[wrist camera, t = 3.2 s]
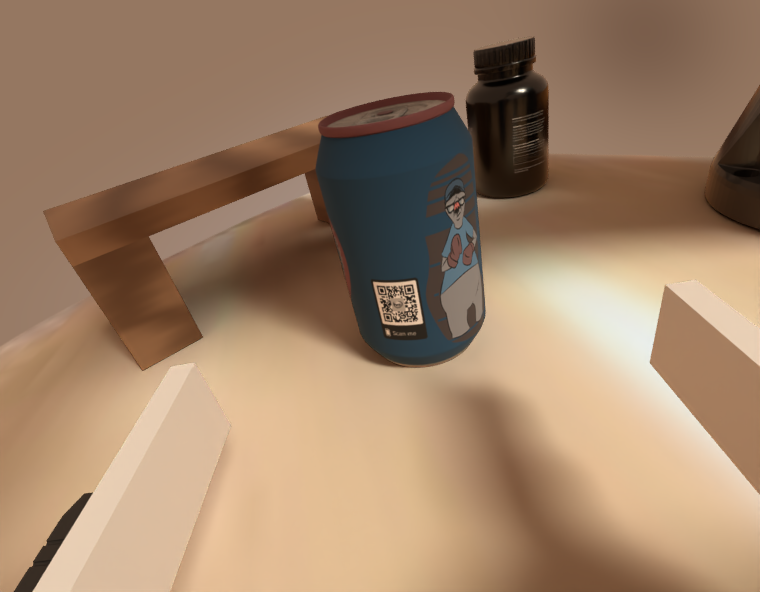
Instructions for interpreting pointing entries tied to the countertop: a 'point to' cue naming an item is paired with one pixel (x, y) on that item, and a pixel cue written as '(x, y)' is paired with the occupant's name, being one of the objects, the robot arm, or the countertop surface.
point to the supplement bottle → (508, 120)
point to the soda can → (406, 224)
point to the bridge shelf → (159, 212)
